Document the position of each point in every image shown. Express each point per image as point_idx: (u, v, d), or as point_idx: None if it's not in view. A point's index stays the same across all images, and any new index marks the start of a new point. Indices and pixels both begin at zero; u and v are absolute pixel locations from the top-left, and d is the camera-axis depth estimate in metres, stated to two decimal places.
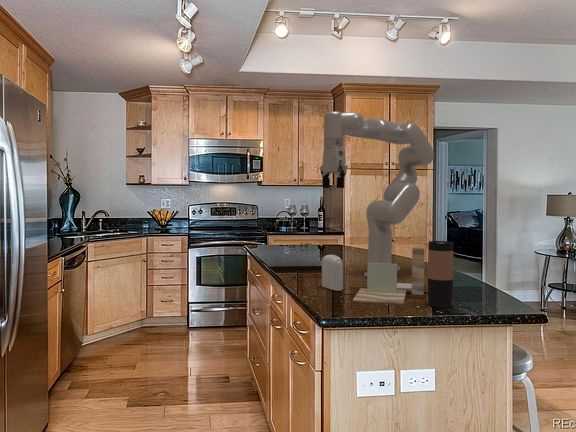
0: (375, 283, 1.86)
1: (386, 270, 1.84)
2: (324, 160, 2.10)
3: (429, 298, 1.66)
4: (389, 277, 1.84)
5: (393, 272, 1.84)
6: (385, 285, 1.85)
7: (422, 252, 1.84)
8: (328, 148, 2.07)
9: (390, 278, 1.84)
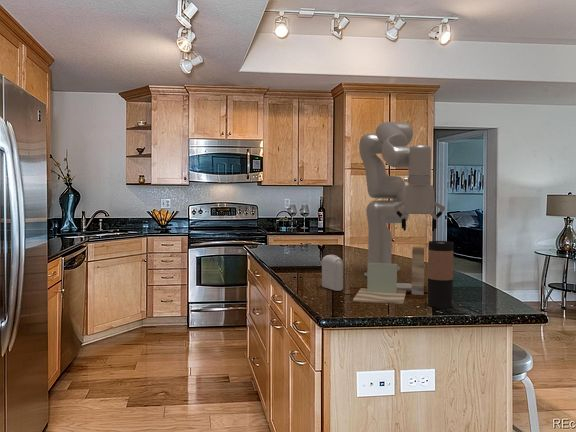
0: (375, 283, 1.86)
1: (386, 270, 1.84)
2: None
3: (429, 298, 1.66)
4: (389, 277, 1.84)
5: (393, 272, 1.84)
6: (385, 285, 1.85)
7: (422, 252, 1.84)
8: None
9: (390, 278, 1.84)
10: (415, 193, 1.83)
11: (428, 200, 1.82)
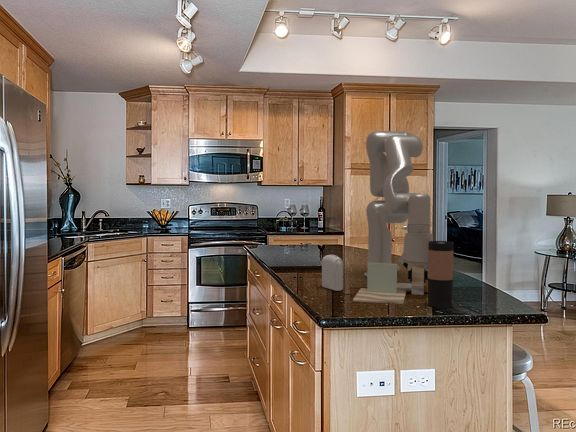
0: (375, 283, 1.86)
1: (386, 270, 1.84)
2: None
3: (429, 298, 1.66)
4: (389, 277, 1.84)
5: (393, 272, 1.84)
6: (385, 285, 1.85)
7: None
8: None
9: (390, 278, 1.84)
10: (414, 242, 1.83)
11: (427, 249, 1.83)
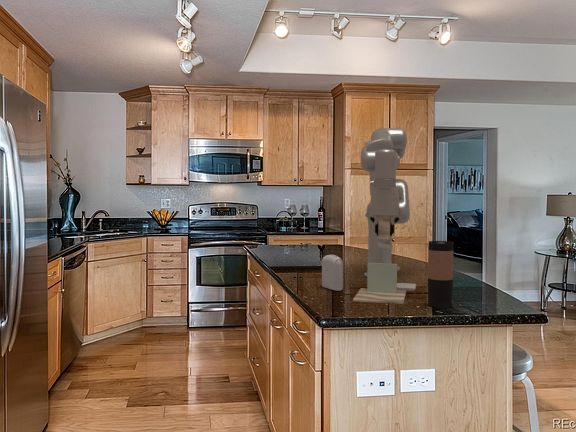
0: (375, 283, 1.86)
1: (386, 270, 1.84)
2: None
3: (429, 298, 1.66)
4: (389, 277, 1.84)
5: (393, 272, 1.84)
6: (385, 285, 1.85)
7: None
8: None
9: (390, 278, 1.84)
10: (380, 196, 1.89)
11: (393, 203, 1.88)
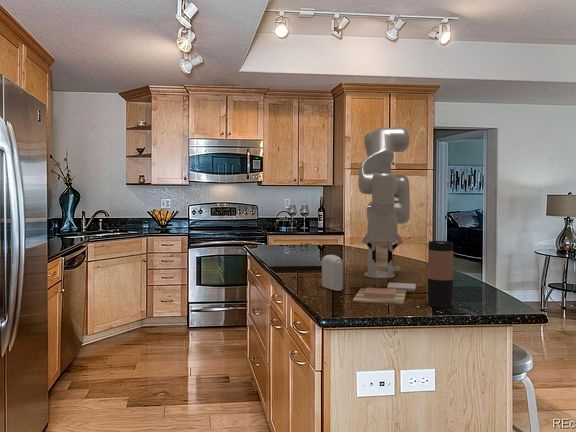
0: None
1: None
2: None
3: (429, 298, 1.66)
4: None
5: None
6: None
7: None
8: None
9: None
10: (378, 222, 1.82)
11: (391, 229, 1.81)
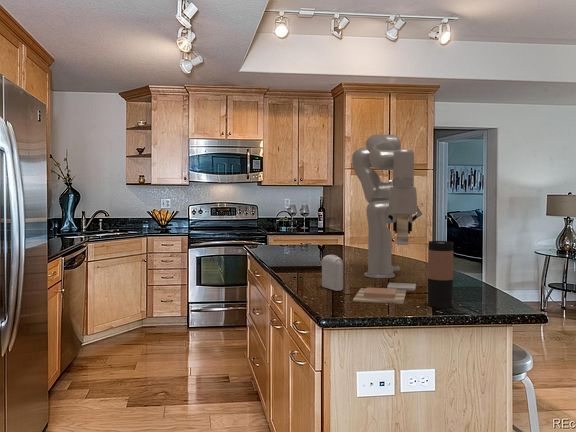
0: None
1: None
2: None
3: (429, 298, 1.66)
4: None
5: None
6: None
7: None
8: None
9: None
10: (399, 195, 1.94)
11: (411, 201, 1.93)
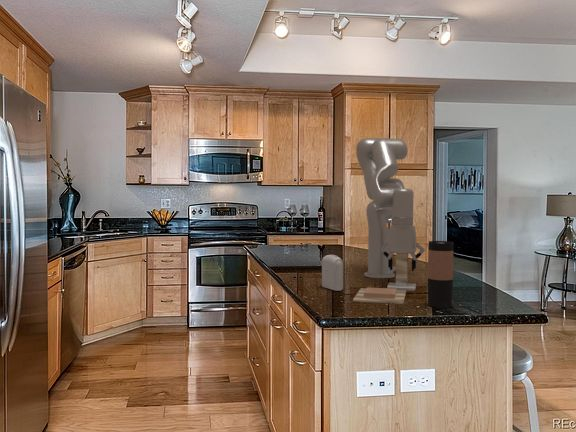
0: None
1: None
2: None
3: (429, 298, 1.66)
4: None
5: None
6: None
7: None
8: None
9: None
10: (398, 234, 1.95)
11: (410, 241, 1.94)
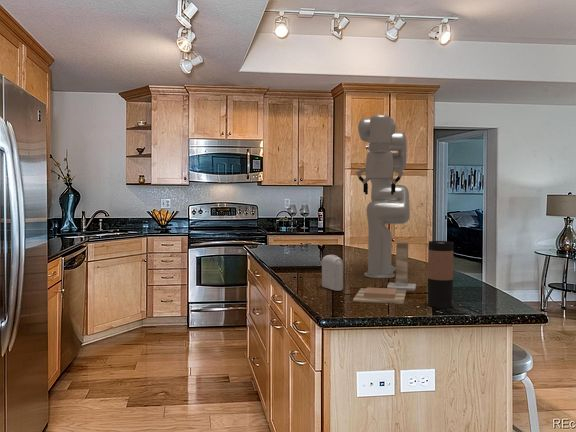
0: None
1: None
2: None
3: (429, 298, 1.66)
4: None
5: None
6: None
7: (405, 246, 1.95)
8: None
9: None
10: (375, 160, 1.98)
11: (387, 166, 1.97)
